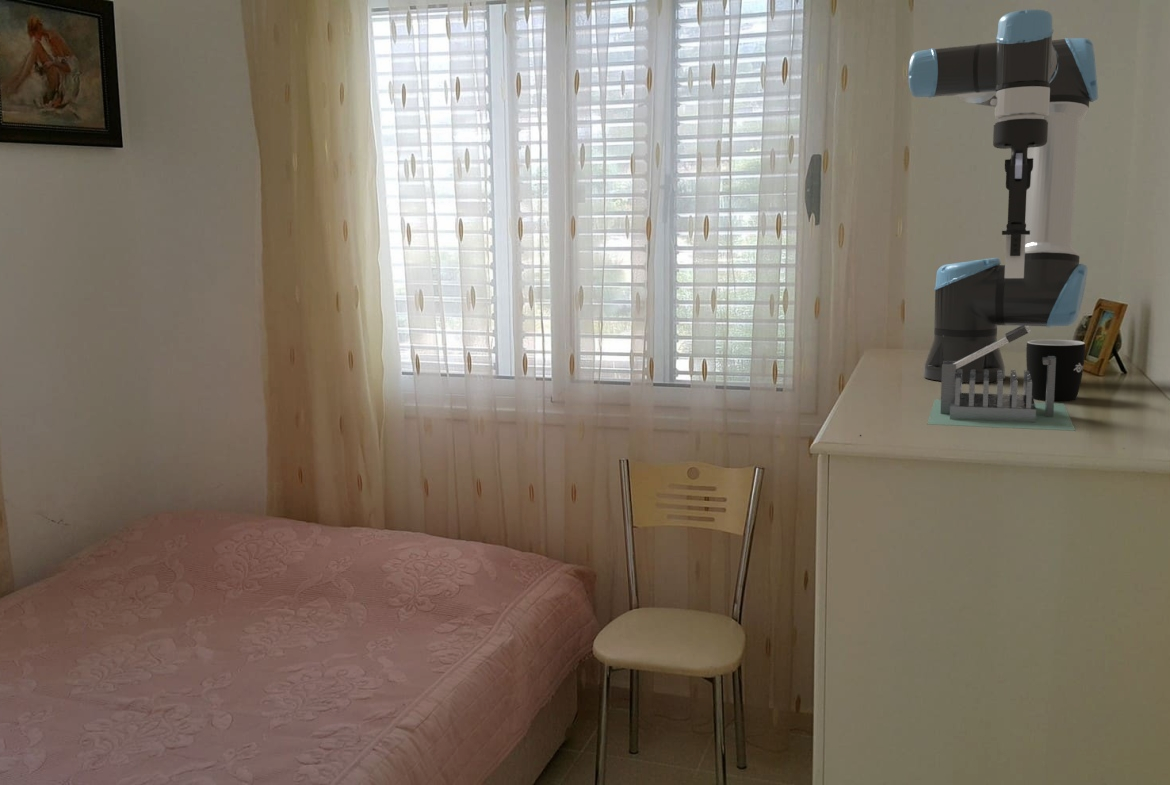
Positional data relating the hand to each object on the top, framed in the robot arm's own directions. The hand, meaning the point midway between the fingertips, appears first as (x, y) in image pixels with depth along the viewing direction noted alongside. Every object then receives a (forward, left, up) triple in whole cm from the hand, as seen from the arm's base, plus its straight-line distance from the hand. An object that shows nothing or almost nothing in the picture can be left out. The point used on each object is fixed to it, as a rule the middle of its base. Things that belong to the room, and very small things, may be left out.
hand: (1014, 278), depth 155 cm
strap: (0, -3, -12) cm, 12 cm away
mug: (-19, +8, -22) cm, 30 cm away
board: (0, -1, -22) cm, 22 cm away
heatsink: (0, -2, -21) cm, 21 cm away
